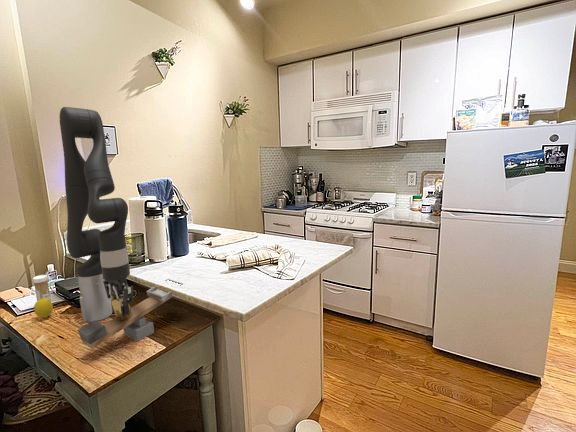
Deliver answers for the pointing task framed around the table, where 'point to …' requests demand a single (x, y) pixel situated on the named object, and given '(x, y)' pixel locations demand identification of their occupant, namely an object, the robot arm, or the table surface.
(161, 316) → the table surface
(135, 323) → the beam stand
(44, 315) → the lemon
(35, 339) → the table surface
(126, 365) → the table surface
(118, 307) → the brass weight
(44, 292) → the sprinkles bottle
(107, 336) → the seesaw
